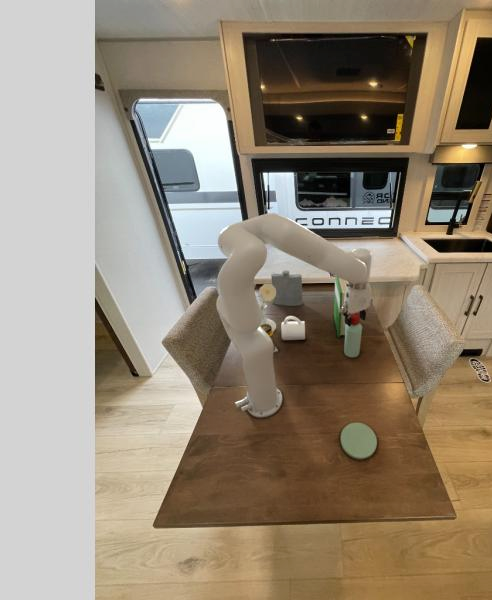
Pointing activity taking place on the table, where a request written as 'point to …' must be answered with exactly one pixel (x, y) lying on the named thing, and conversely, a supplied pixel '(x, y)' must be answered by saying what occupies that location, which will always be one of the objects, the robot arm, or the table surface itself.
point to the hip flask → (287, 289)
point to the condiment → (268, 330)
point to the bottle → (352, 340)
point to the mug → (293, 329)
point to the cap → (355, 318)
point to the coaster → (358, 440)
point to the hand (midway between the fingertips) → (355, 321)
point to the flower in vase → (267, 295)
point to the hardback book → (339, 305)
